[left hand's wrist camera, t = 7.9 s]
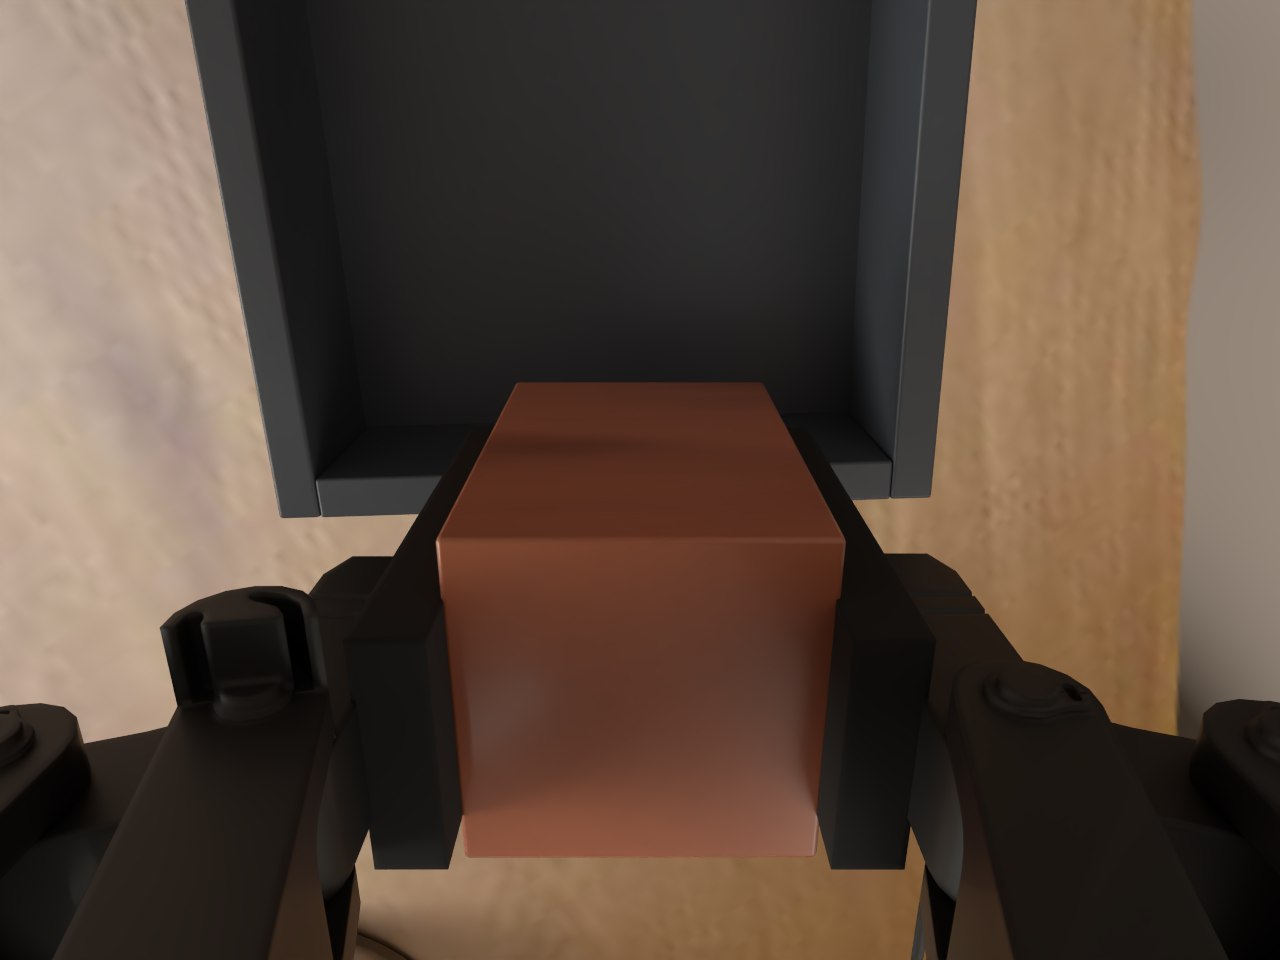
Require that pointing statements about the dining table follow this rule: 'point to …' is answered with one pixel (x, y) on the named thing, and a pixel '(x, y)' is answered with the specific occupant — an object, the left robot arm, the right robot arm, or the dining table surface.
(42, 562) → the dining table surface
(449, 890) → the dining table surface
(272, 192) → the tray
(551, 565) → the block
